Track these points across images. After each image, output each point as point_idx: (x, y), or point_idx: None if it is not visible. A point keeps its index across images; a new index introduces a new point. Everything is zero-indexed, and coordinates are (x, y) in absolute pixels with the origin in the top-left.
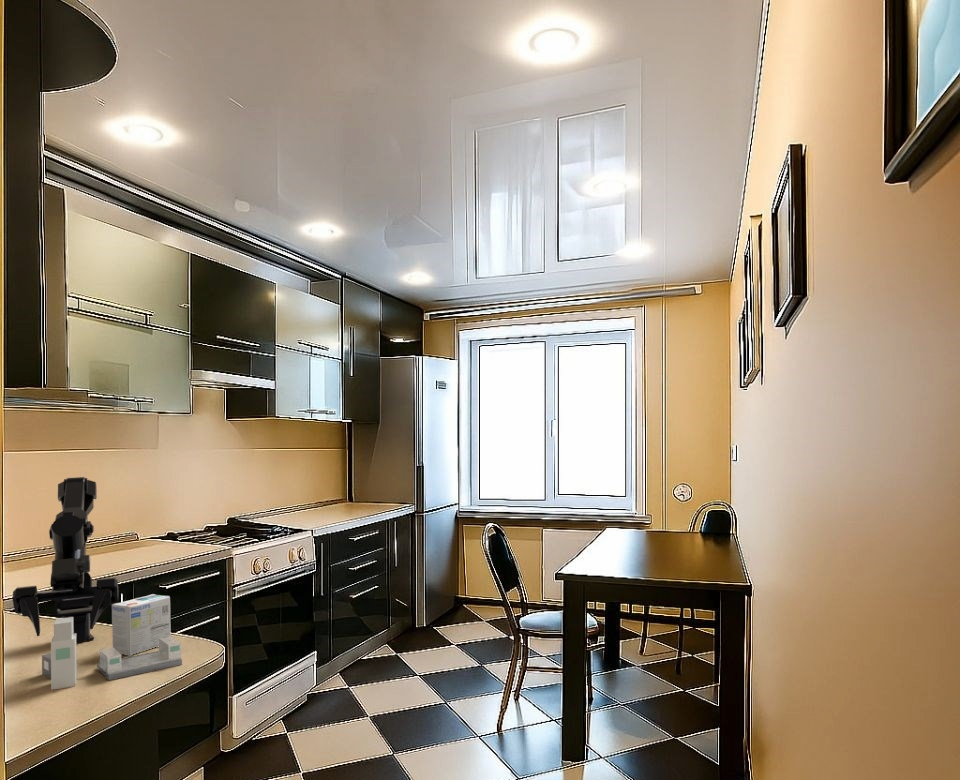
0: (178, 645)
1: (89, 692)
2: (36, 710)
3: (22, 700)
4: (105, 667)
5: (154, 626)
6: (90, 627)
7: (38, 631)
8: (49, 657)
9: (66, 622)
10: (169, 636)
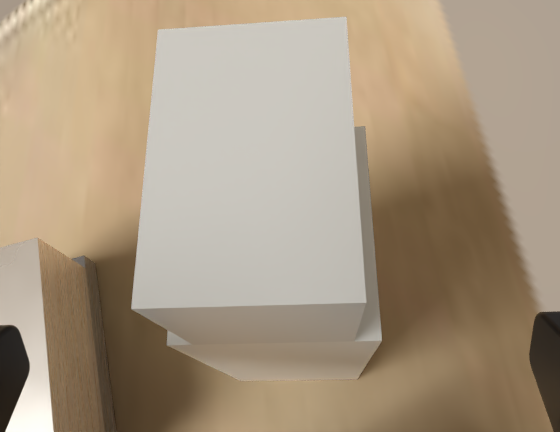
0: None
1: None
2: (364, 21)
3: (453, 159)
4: (79, 312)
5: None
6: (16, 333)
7: (551, 317)
8: None
9: (210, 35)
10: None
